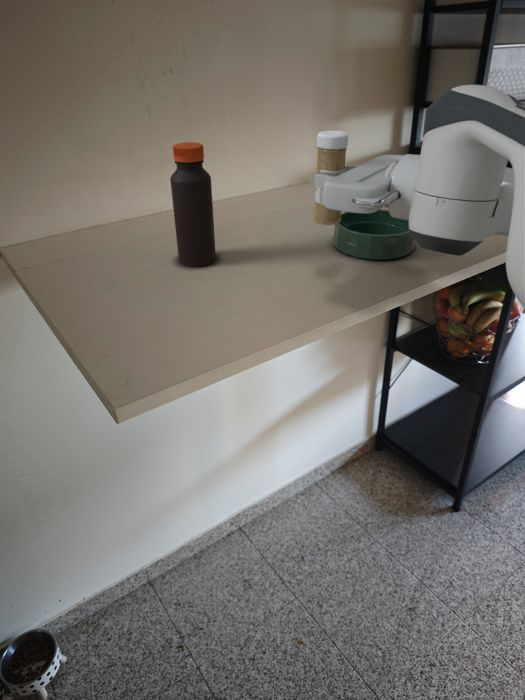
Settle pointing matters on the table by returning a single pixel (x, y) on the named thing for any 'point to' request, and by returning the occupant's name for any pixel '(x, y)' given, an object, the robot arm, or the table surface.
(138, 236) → the table surface
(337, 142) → the sprinkles bottle
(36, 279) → the table surface
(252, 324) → the table surface
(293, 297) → the table surface
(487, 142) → the robot arm
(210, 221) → the vinegar
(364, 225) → the green faceted bowl
